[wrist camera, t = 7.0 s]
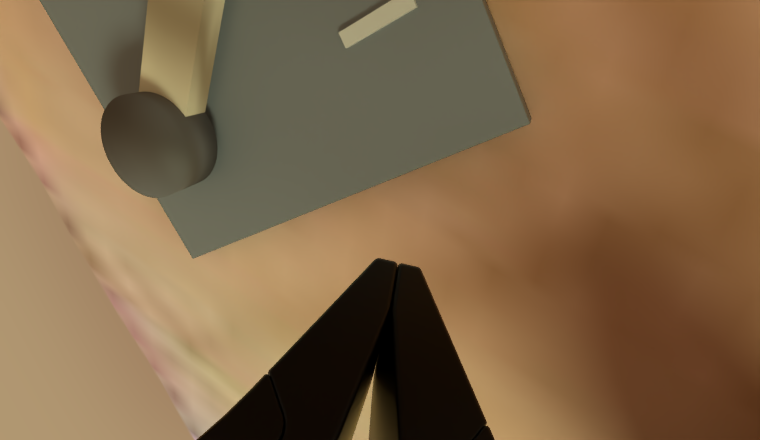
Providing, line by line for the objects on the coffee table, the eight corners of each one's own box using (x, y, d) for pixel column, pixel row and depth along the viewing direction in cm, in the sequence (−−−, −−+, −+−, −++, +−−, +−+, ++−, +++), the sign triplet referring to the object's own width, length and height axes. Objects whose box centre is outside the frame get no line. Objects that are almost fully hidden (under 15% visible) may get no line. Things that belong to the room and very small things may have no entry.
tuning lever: (208, 199, 22) (-36, 321, 13) (134, 158, 22) (-147, 246, 13) (281, -165, 15) (-134, -448, 6) (172, -209, 15) (-352, -525, 7)
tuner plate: (531, 118, 17) (529, 124, 16) (205, 250, 25) (190, 260, 24) (304, -467, 13) (282, -509, 12) (9, -85, 21) (-19, -91, 20)
